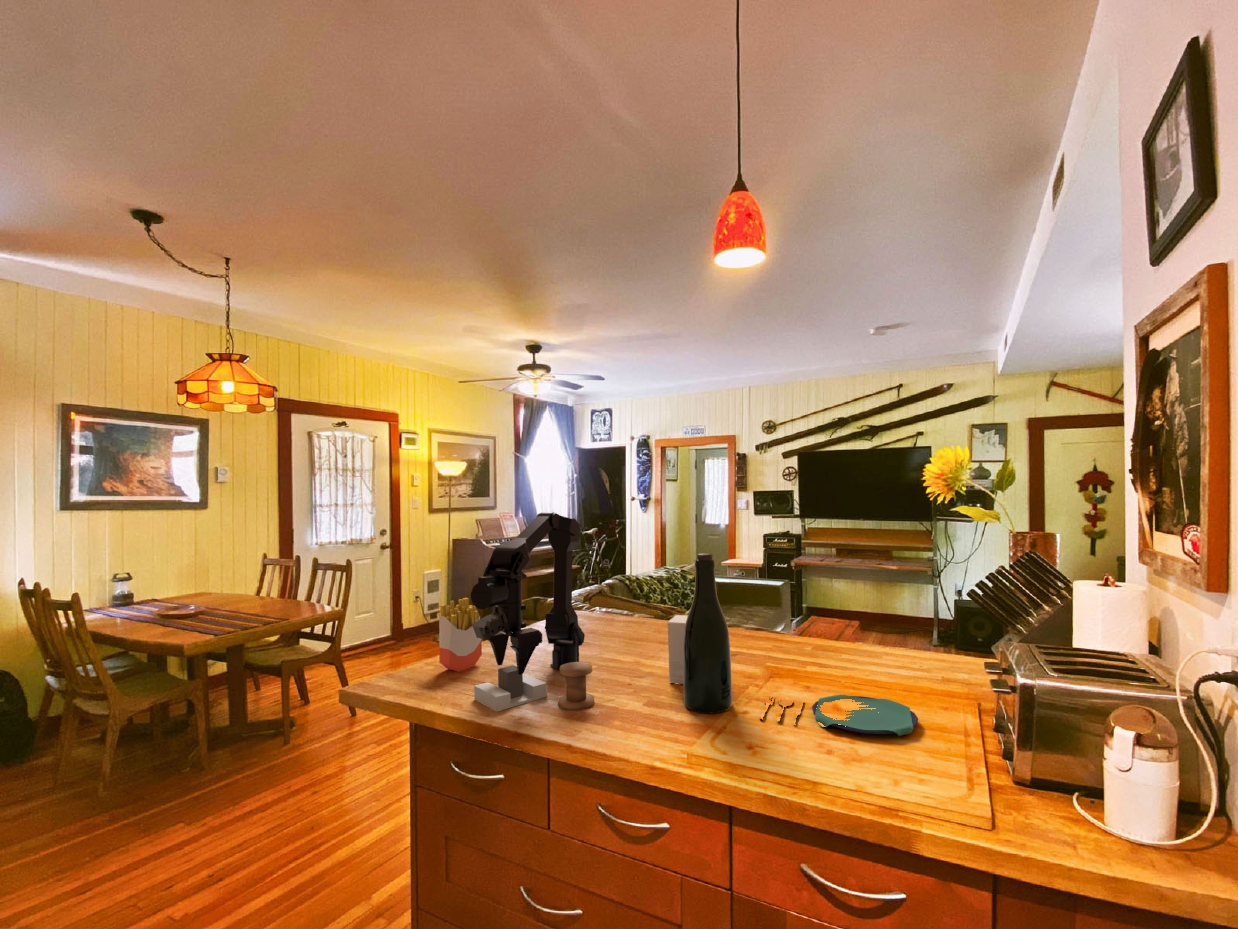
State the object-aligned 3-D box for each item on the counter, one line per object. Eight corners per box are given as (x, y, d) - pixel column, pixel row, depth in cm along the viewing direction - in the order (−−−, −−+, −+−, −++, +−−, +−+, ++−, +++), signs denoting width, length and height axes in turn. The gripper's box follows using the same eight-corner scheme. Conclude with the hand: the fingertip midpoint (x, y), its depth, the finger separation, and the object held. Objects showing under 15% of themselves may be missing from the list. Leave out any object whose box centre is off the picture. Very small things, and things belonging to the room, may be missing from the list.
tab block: (513, 691, 135) (513, 665, 136) (522, 695, 132) (522, 668, 133) (498, 695, 133) (498, 668, 133) (507, 700, 130) (507, 672, 130)
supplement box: (711, 675, 146) (710, 616, 147) (705, 687, 138) (703, 624, 138) (676, 672, 149) (675, 613, 150) (668, 684, 140) (666, 621, 141)
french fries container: (482, 664, 159) (482, 598, 159) (450, 675, 150) (450, 605, 151) (471, 661, 161) (471, 596, 162) (439, 672, 153) (439, 603, 153)
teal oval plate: (923, 749, 104) (922, 736, 104) (755, 727, 116) (754, 715, 116) (914, 710, 123) (914, 699, 123) (770, 695, 134) (769, 685, 134)
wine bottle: (702, 718, 119) (698, 557, 120) (674, 702, 128) (671, 552, 130) (742, 709, 124) (738, 554, 125) (712, 694, 133) (709, 549, 134)
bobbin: (579, 694, 134) (579, 659, 135) (601, 703, 128) (601, 667, 129) (551, 703, 129) (550, 666, 129) (572, 713, 123) (572, 675, 123)
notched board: (523, 686, 141) (523, 673, 141) (546, 696, 133) (546, 683, 133) (474, 699, 132) (474, 685, 132) (496, 711, 125) (496, 697, 125)
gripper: (458, 600, 135) (458, 668, 134) (498, 612, 121) (499, 688, 120) (500, 594, 142) (501, 658, 142) (543, 604, 128) (544, 676, 128)
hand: (510, 669), depth 133 cm, fingers open, 9 cm apart
